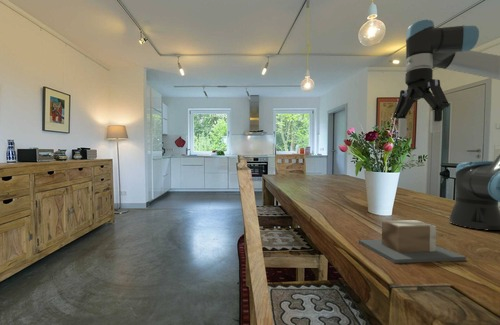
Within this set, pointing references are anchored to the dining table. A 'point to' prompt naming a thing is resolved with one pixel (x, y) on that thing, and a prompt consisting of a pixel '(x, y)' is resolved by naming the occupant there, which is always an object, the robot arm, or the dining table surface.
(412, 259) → the mat
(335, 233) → the dining table surface
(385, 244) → the block
